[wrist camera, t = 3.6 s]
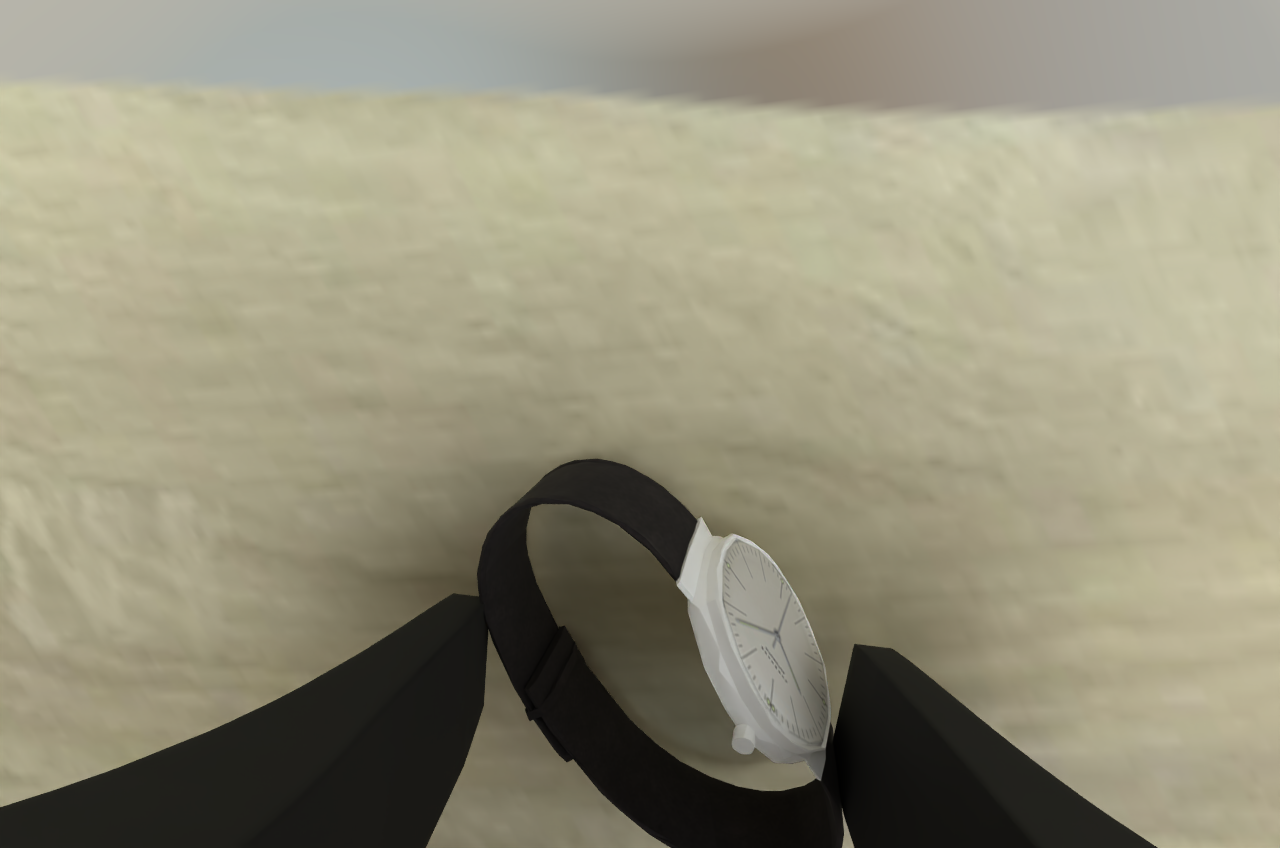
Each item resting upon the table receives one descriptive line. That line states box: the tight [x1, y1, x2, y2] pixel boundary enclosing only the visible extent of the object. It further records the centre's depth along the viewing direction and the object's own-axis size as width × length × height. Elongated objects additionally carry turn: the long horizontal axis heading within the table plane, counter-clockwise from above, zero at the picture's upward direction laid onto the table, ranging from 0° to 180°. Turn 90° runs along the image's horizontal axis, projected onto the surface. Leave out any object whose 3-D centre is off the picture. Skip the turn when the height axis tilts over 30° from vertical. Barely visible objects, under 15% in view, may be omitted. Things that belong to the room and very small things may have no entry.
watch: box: [477, 459, 844, 848], centre depth 10 cm, size 8×5×4 cm, turn 34°
